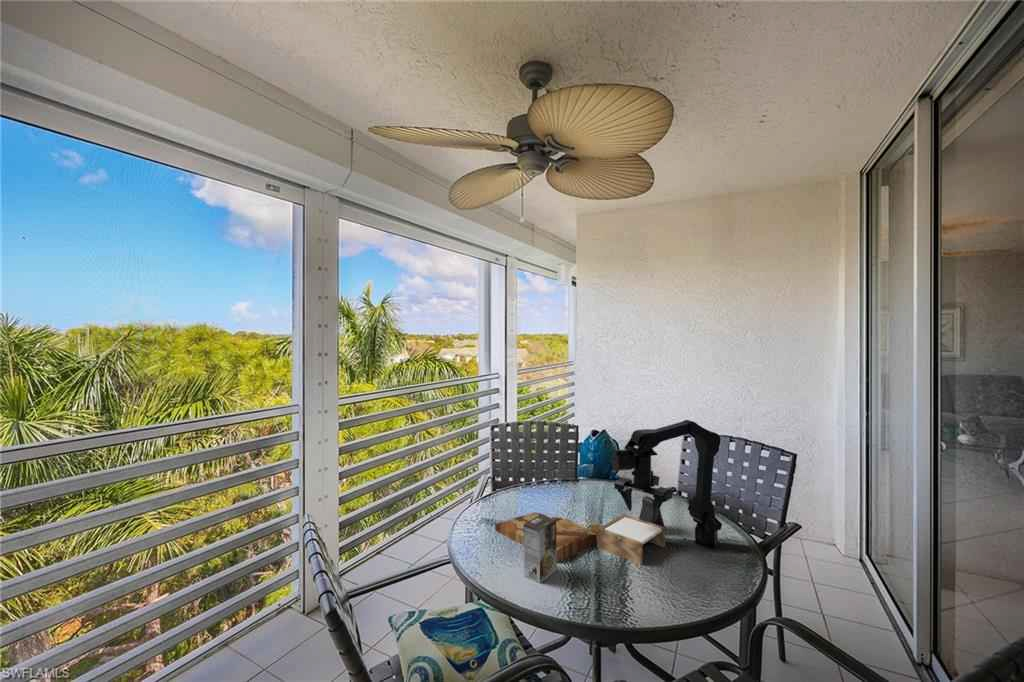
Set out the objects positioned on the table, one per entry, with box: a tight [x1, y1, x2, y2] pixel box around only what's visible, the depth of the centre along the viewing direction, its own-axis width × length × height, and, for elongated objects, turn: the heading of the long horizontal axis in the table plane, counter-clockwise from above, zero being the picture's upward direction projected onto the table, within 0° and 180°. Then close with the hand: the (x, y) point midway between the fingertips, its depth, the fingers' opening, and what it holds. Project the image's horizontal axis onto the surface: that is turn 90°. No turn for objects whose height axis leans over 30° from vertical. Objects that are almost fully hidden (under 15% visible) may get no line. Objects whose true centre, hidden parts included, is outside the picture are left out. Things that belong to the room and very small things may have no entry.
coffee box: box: [523, 515, 558, 584], centre depth 134 cm, size 9×6×16 cm
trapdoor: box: [604, 517, 662, 546], centre depth 150 cm, size 14×14×3 cm
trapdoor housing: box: [596, 514, 666, 566], centre depth 151 cm, size 16×18×6 cm
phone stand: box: [638, 495, 667, 532], centre depth 164 cm, size 9×6×12 cm, turn 117°
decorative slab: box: [494, 511, 598, 564], centre depth 159 cm, size 32×22×5 cm
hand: (642, 514), depth 148 cm, fingers open, 9 cm apart
